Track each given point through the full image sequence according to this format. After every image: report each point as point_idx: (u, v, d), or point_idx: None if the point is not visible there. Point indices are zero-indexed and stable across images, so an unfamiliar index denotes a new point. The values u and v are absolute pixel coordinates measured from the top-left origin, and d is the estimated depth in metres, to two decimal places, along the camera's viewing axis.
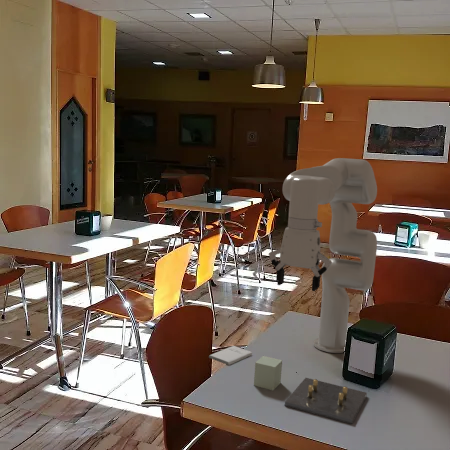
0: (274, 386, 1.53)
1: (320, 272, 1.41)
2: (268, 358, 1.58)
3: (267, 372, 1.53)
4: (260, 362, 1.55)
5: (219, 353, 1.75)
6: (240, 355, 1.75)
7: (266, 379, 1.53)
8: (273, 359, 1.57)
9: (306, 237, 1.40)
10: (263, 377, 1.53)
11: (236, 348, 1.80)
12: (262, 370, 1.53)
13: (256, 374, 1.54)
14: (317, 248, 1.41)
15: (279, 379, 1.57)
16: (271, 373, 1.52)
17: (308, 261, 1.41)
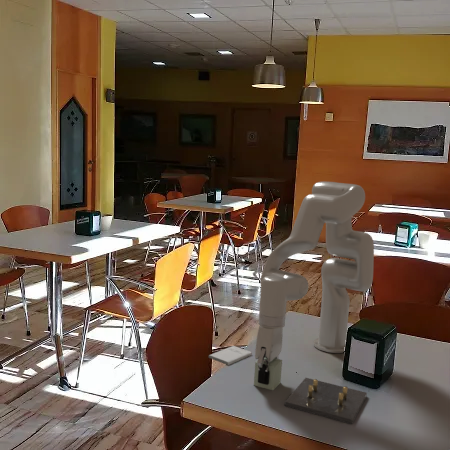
0: (274, 386, 1.53)
1: None
2: None
3: None
4: None
5: (219, 353, 1.75)
6: (240, 355, 1.74)
7: None
8: (273, 359, 1.57)
9: (281, 328, 1.55)
10: None
11: (236, 348, 1.80)
12: None
13: (256, 374, 1.54)
14: None
15: (279, 379, 1.57)
16: (271, 373, 1.52)
17: (280, 348, 1.57)
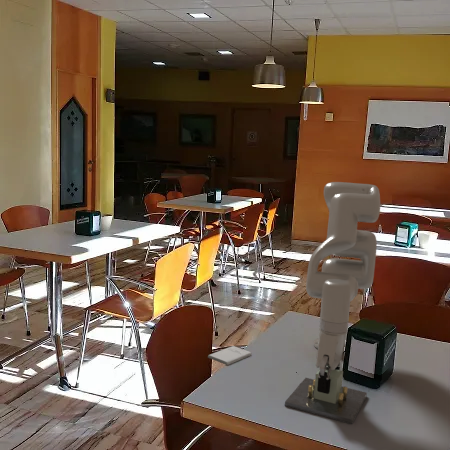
0: (336, 399, 1.45)
1: None
2: None
3: None
4: None
5: (219, 353, 1.75)
6: (239, 355, 1.74)
7: None
8: (333, 370, 1.49)
9: (343, 335, 1.46)
10: None
11: (235, 348, 1.80)
12: None
13: (316, 386, 1.46)
14: None
15: (340, 391, 1.48)
16: (333, 385, 1.44)
17: (341, 356, 1.48)
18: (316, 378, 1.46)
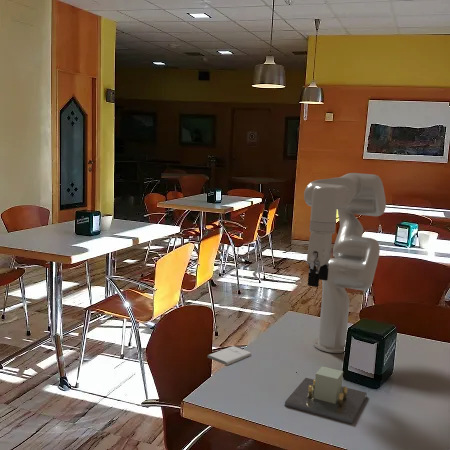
0: (336, 399, 1.45)
1: (327, 263, 1.68)
2: (328, 369, 1.49)
3: (328, 384, 1.44)
4: (320, 373, 1.46)
5: (218, 353, 1.75)
6: (239, 355, 1.74)
7: (328, 392, 1.45)
8: (333, 370, 1.49)
9: (331, 237, 1.62)
10: (324, 389, 1.45)
11: (235, 348, 1.80)
12: (323, 382, 1.45)
13: (316, 386, 1.46)
14: None
15: (340, 391, 1.48)
16: (333, 385, 1.44)
17: (329, 256, 1.64)
18: (316, 378, 1.46)
